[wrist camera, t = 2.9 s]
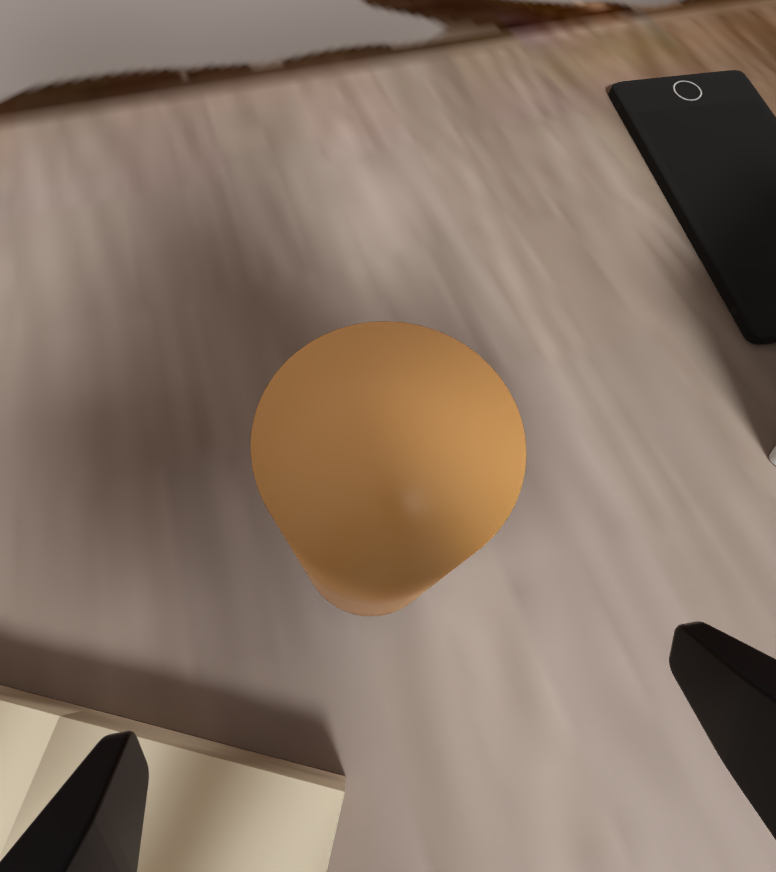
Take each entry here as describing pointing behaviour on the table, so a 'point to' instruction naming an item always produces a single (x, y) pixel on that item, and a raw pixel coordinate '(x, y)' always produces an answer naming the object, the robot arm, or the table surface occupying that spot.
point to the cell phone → (715, 179)
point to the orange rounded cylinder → (386, 460)
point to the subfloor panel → (173, 791)
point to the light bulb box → (773, 456)
